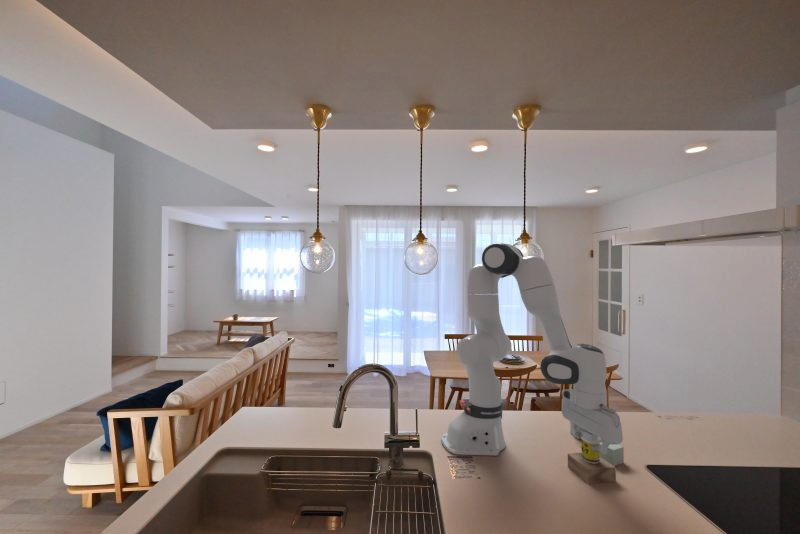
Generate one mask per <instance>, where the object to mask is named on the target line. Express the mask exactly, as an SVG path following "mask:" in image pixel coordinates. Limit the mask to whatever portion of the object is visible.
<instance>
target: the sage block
mask: <svg viewBox="0 0 800 534" xmlns="http://www.w3.org/2000/svg"><path fill="white" fill-rule="evenodd" d="M601 445H602V442H601V441H599V446H601ZM624 449H625V448H624V446H622V445H620V444H614V445H612V444H610V445H609V446H608V448H607V454H601V453H600V452H599V454H600V457H602V458H603V459H605V460H606V461H608V462H609V463H611V464H612V465H613V466H615V467H616V466H618V465H620V464H621V465H622V464H624V462H625V461H624V460H625V459H624V457H625V454H624V453H625V451H624Z"/></svg>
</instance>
